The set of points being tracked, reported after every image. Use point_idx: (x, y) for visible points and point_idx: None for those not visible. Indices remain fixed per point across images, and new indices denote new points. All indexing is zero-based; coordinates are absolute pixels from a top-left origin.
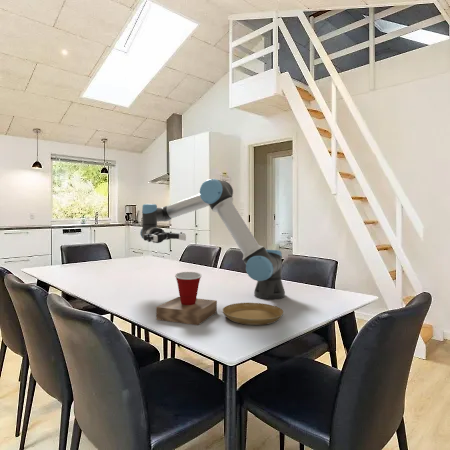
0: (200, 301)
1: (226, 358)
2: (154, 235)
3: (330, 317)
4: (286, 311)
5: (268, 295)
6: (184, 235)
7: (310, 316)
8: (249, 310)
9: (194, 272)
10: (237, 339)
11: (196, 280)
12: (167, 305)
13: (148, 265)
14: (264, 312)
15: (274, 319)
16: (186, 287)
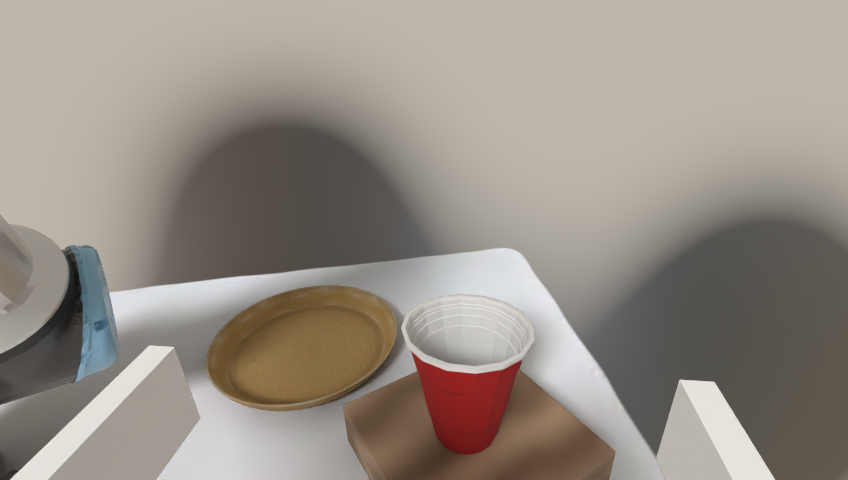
0: (405, 426)
1: (516, 253)
2: (757, 453)
3: (189, 283)
4: (189, 344)
5: (6, 462)
6: (177, 357)
7: (205, 301)
8: (257, 389)
9: (412, 344)
10: (453, 285)
11: (451, 310)
12: (561, 446)
13: None
14: (247, 357)
15: (320, 291)
16: (493, 341)
